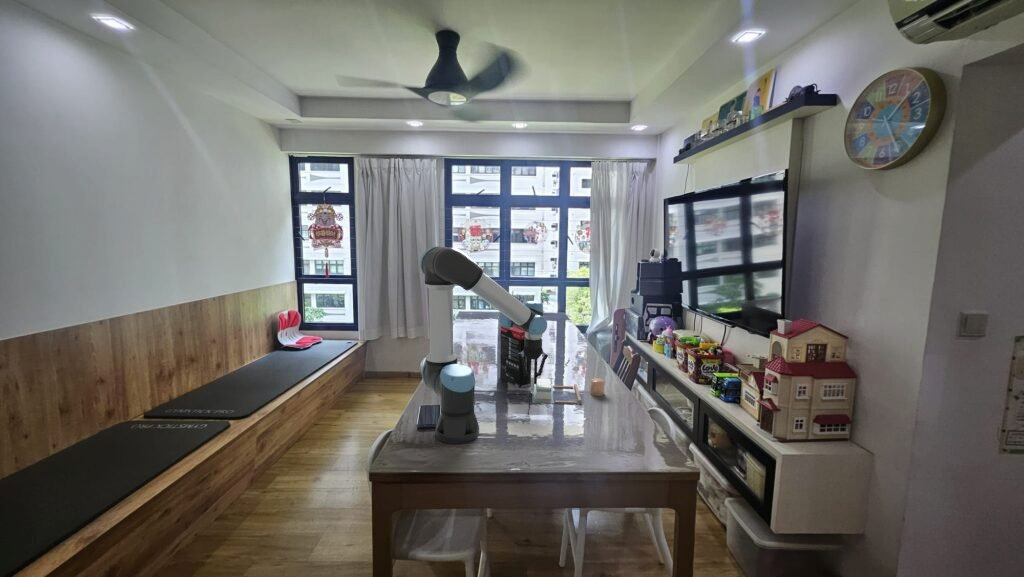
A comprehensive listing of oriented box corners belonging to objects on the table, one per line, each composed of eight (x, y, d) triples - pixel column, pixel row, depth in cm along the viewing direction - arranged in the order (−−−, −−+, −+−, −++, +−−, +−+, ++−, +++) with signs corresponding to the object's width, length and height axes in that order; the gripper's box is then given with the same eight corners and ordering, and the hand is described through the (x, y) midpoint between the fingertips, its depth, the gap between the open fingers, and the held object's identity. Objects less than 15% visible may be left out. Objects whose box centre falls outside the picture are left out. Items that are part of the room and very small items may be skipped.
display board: (580, 407, 168) (581, 400, 167) (531, 405, 169) (532, 398, 168) (576, 390, 186) (576, 384, 185) (531, 389, 187) (532, 382, 186)
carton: (551, 399, 172) (551, 387, 171) (536, 398, 172) (536, 387, 172) (549, 390, 182) (550, 379, 182) (535, 389, 182) (536, 378, 182)
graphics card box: (531, 389, 187) (533, 330, 183) (519, 392, 183) (520, 332, 179) (510, 377, 201) (511, 323, 197) (498, 380, 197) (499, 324, 193)
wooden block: (605, 396, 180) (605, 383, 179) (591, 396, 180) (592, 382, 179) (602, 391, 186) (603, 378, 185) (589, 390, 186) (589, 378, 185)
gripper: (548, 335, 178) (546, 388, 181) (518, 335, 178) (517, 387, 181) (549, 340, 170) (547, 394, 173) (517, 339, 171) (516, 393, 174)
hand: (532, 390), depth 177 cm, fingers closed
